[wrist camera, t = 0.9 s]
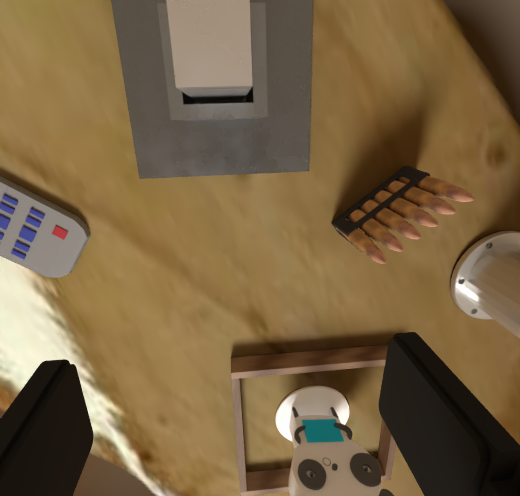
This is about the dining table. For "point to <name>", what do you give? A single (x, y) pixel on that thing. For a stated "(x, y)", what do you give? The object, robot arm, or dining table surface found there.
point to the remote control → (39, 232)
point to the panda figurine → (325, 447)
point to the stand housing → (219, 114)
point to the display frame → (291, 365)
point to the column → (211, 49)
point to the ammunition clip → (397, 211)
